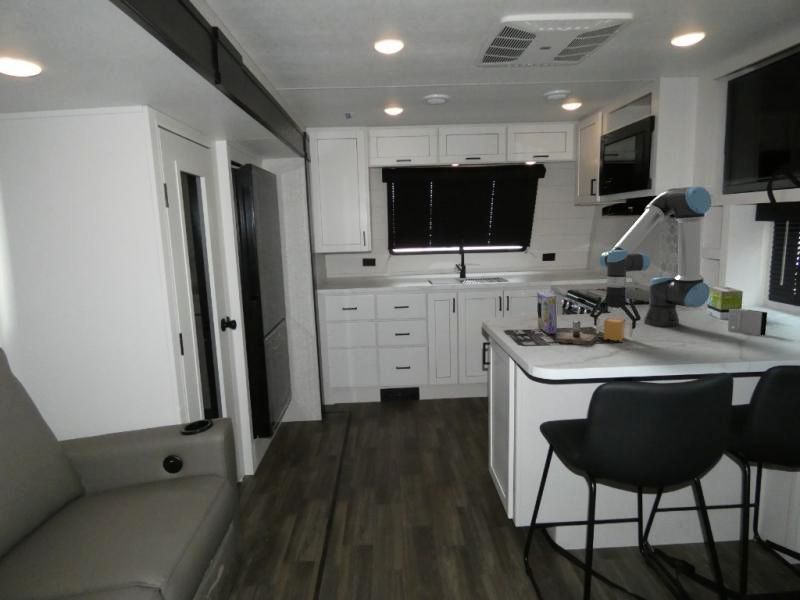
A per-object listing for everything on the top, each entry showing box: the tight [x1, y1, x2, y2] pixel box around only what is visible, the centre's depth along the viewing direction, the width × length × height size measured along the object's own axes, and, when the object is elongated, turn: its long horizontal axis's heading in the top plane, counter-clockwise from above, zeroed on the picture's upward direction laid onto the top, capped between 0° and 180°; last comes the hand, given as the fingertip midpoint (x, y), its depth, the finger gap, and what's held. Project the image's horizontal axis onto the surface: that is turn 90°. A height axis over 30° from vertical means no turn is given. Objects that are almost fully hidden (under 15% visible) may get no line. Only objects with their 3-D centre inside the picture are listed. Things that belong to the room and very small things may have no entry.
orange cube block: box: [603, 318, 626, 342], centre depth 214 cm, size 7×7×8 cm
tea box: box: [706, 286, 744, 320], centre depth 253 cm, size 15×10×15 cm
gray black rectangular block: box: [727, 308, 768, 336], centre depth 218 cm, size 14×5×10 cm, turn 37°
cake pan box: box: [536, 290, 558, 334], centre depth 234 cm, size 19×5×18 cm, turn 178°
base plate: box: [555, 331, 597, 346], centre depth 212 cm, size 14×12×2 cm
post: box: [572, 320, 581, 337], centre depth 212 cm, size 3×3×6 cm
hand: (614, 334), depth 215 cm, fingers open, 13 cm apart
